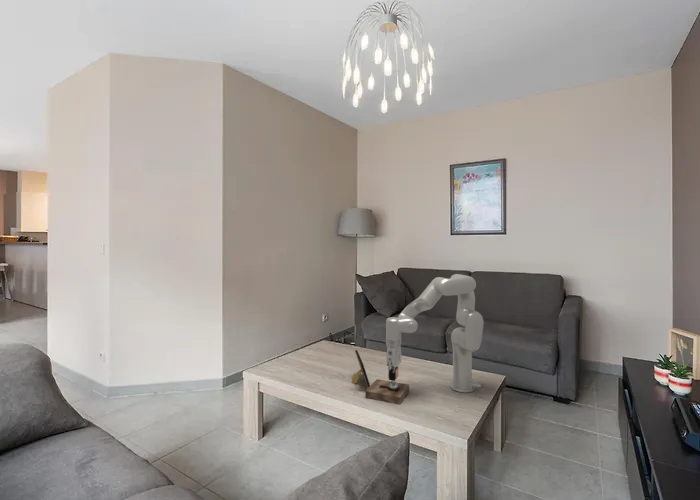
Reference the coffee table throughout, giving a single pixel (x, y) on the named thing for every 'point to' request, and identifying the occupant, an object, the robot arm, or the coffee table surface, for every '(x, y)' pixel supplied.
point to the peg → (393, 385)
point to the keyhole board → (387, 392)
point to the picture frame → (360, 371)
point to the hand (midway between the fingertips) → (393, 378)
